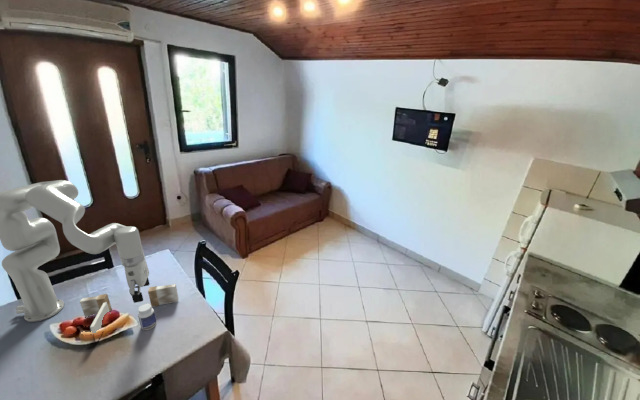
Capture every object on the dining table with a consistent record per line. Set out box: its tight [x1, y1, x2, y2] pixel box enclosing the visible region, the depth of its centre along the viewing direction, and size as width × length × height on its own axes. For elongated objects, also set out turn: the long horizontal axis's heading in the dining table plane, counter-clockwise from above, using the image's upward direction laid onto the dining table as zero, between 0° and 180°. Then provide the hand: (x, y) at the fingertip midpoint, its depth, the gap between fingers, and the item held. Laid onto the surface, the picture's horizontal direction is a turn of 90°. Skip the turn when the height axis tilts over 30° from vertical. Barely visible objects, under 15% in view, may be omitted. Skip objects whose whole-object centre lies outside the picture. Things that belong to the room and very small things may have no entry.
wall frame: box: [79, 283, 179, 318], centre depth 121 cm, size 36×3×9 cm, turn 109°
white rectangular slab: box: [89, 302, 109, 334], centre depth 109 cm, size 14×2×8 cm, turn 20°
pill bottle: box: [137, 303, 157, 331], centre depth 112 cm, size 6×6×10 cm
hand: (142, 293), depth 107 cm, fingers open, 9 cm apart
